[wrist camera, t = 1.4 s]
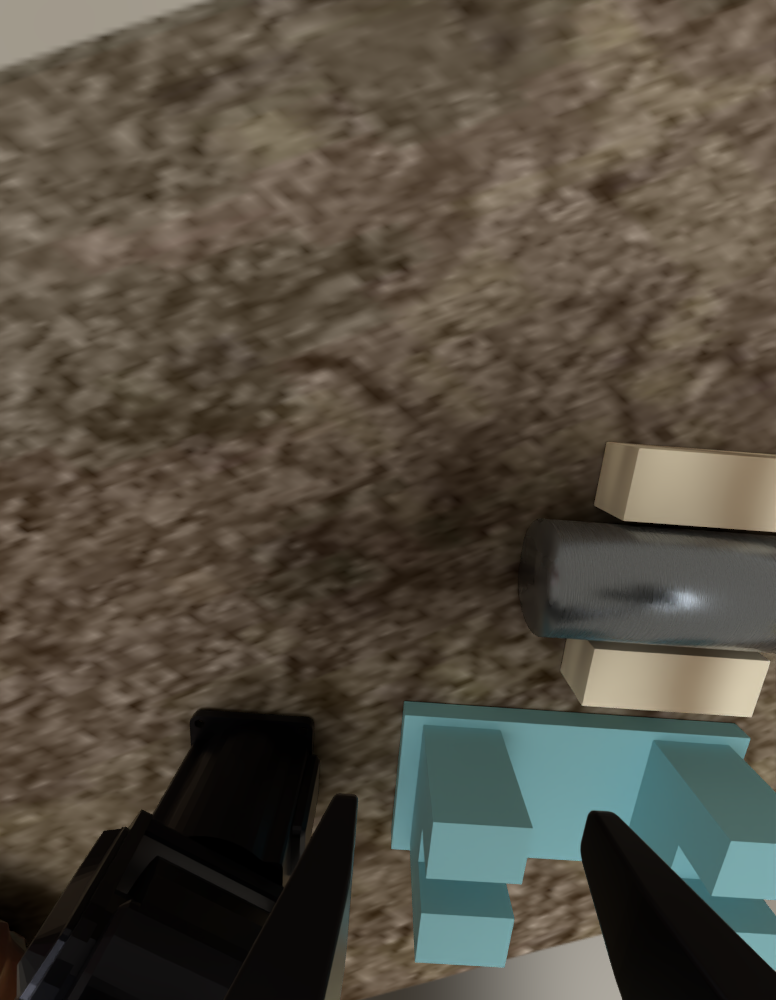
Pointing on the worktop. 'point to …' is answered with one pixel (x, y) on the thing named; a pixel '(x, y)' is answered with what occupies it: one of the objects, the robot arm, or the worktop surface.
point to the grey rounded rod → (649, 585)
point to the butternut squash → (9, 960)
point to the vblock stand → (572, 814)
